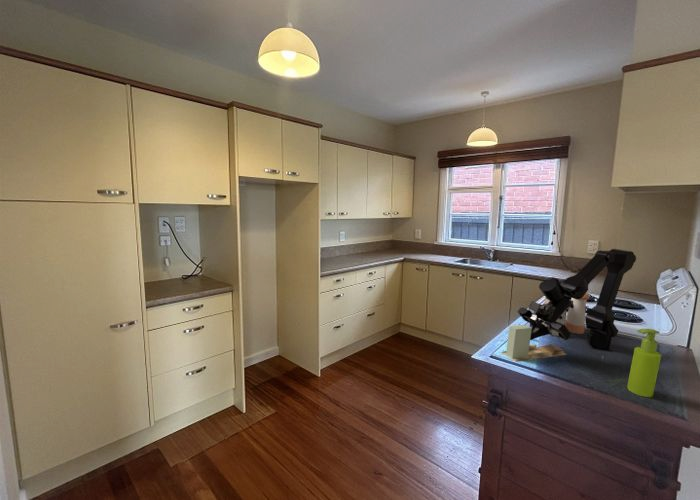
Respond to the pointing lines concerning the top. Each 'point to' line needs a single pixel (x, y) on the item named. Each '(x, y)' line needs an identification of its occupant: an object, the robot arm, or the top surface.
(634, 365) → the soap dispenser
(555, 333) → the candy bar box
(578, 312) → the salt shaker
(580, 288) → the robot arm
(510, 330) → the pale green block
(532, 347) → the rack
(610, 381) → the top surface
